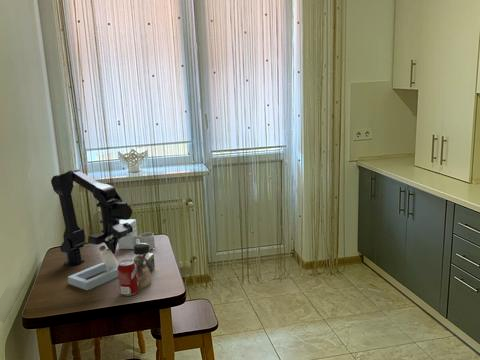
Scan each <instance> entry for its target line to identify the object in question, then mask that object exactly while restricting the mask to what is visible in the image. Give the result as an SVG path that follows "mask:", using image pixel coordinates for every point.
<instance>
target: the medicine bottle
mask: <svg viewBox="0 0 480 360" xmlns="http://www.w3.org/2000/svg"><path fill="white" fill-rule="evenodd" d="M144 253H145V254H146V256H145V258H146V259H147V261H148V266H147V267H148V269H149V271H150V274H151V275H152V273H153V272H154V271H155V269H156V265H155V263H156V262H155V255H154V253H153V252H150V251H149V245H148V244H146V243H140V242H138V244H136V245H135V246H134V248H133V255H134V256H132V258H130V260H133V261H134V258H135V257H136V256H137V255H138V254H140V255H141V256H142V255H143V254H144ZM143 264H146V261H144V262H143Z"/></svg>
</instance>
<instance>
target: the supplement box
mask: <svg viewBox="0 0 480 360" xmlns="http://www.w3.org/2000/svg"><path fill="white" fill-rule="evenodd" d="M119 222H120V224H124V223H127V222H128V223H129V224H130V225H131V226H132V227H133V232H131V233H127V236H124V237H122V238H120V239H119V241H118V243H117V247H118V250H134V246H135V245H134V237H136V236H138V227H137V219H136V218H135V219H134V218H133V219H132V218H131V219H128V220H123V219H119ZM136 244H139V240H138V239H136Z"/></svg>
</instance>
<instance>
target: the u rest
mask: <svg viewBox="0 0 480 360" xmlns="http://www.w3.org/2000/svg"><path fill="white" fill-rule="evenodd" d="M117 268H118V267H117ZM117 268H115V269H112V270H110V271H108V269H107V267H106V266H105V264H104V262H103V261H102V262H101V263H97V264H96V265H93V266H91V267H88V268H86V269H85V268H84V270H80V271H79V272H75V273H74V274H70V275H69V276H67V281H68V282H67V283H68V284H69V285H70V286H74V287H76V288H78V289H82V290H86V291H90V290H92V289H95V288H96V287H98V286H101V285H103V284H105V283H107V282H110V281H112V280H114V279H116V278H118V269H117ZM105 271H106V272H105ZM102 272H104V273H102ZM91 277H92V278H91Z"/></svg>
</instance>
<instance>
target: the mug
mask: <svg viewBox="0 0 480 360" xmlns="http://www.w3.org/2000/svg"><path fill="white" fill-rule="evenodd" d="M136 239H139V243H146V244H148V245H149V250H150V251H152V250H151V249H153V248H156V242H155V233H153V232H143V233H140V234H139V235H137V236H136V237H134V245H136ZM153 250H154V249H153Z"/></svg>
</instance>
